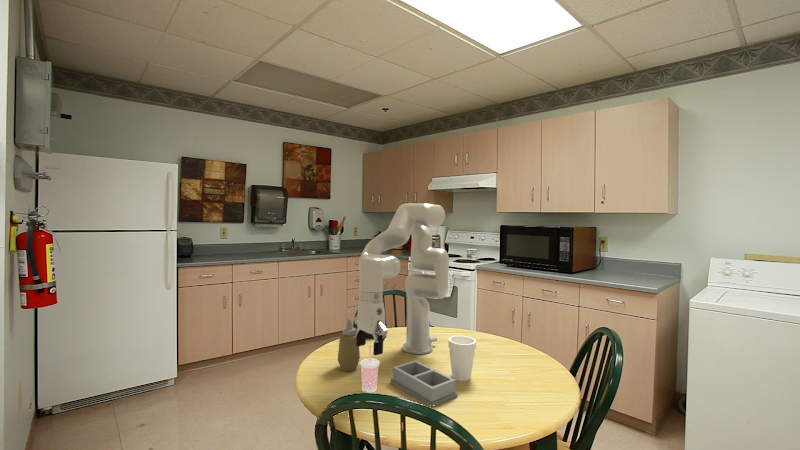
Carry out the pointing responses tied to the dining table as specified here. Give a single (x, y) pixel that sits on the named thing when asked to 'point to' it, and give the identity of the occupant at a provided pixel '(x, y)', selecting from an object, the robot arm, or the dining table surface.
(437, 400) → the compartment organizer caddy
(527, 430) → the dining table surface
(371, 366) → the beverage cup
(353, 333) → the squeeze bottle
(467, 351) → the foam cup
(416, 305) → the robot arm
